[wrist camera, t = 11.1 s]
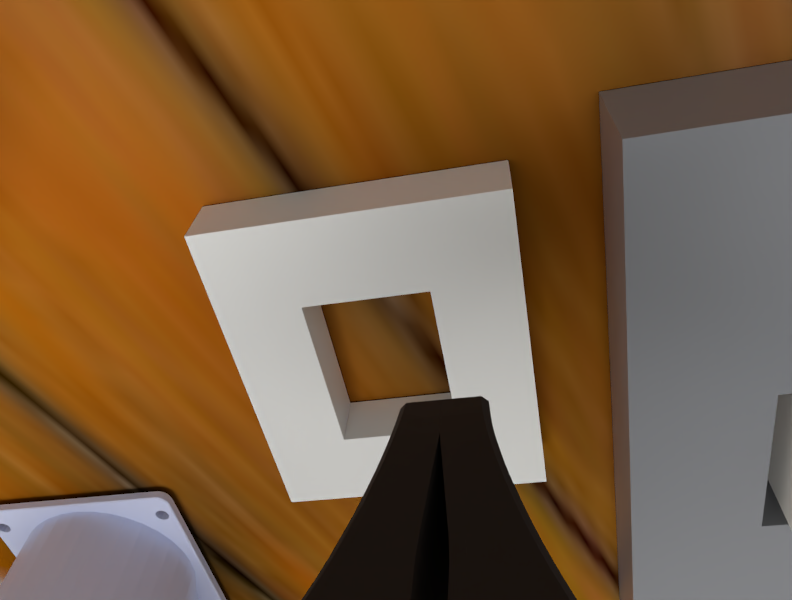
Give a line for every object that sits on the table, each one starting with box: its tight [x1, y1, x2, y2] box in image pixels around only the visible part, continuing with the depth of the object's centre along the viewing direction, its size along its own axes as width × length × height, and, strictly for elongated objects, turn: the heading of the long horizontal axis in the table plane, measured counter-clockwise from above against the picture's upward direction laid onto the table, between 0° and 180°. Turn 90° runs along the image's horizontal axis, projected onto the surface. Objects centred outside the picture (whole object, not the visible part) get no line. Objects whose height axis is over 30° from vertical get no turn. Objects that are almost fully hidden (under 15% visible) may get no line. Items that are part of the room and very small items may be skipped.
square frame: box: [184, 160, 546, 502], centre depth 23 cm, size 11×9×2 cm
